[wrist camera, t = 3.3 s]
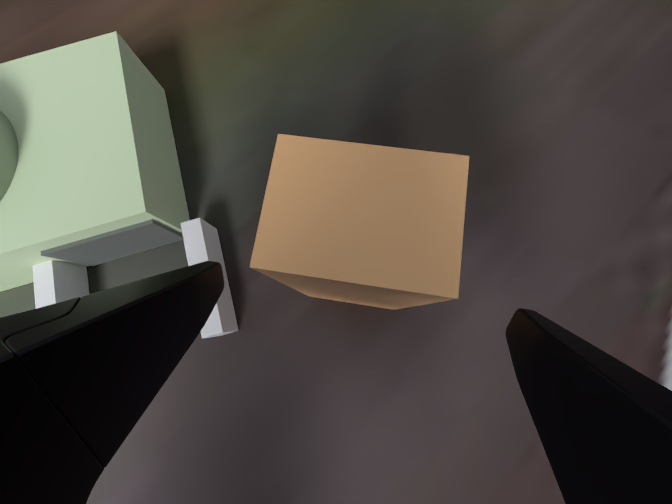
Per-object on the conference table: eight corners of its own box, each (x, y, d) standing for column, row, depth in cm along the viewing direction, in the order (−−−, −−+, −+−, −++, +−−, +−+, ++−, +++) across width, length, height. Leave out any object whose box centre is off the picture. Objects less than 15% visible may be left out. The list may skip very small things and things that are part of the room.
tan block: (394, 309, 20) (457, 298, 8) (308, 296, 20) (249, 267, 8) (401, 248, 20) (469, 156, 9) (319, 236, 21) (278, 133, 9)
